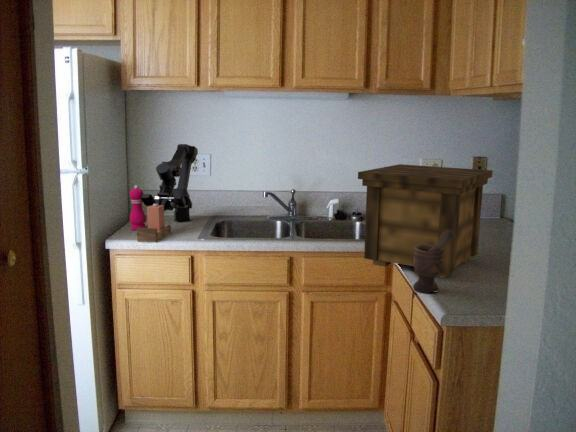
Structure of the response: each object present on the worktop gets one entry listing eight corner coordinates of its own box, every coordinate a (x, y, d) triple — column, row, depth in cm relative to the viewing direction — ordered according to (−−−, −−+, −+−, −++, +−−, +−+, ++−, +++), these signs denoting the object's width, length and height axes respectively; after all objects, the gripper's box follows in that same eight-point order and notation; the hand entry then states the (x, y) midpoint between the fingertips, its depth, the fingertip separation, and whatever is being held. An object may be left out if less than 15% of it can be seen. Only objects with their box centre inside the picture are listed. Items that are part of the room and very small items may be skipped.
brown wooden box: (153, 232, 229) (153, 219, 228) (171, 232, 228) (170, 220, 227) (137, 241, 213) (136, 228, 212) (156, 242, 212) (155, 229, 210)
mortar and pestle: (454, 290, 157) (459, 225, 153) (447, 298, 149) (452, 231, 146) (416, 283, 162) (420, 221, 159) (407, 291, 155) (411, 226, 151)
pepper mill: (136, 231, 230) (134, 186, 226) (126, 229, 235) (124, 185, 231) (149, 228, 236) (147, 185, 232) (139, 226, 240) (137, 183, 236)
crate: (454, 284, 162) (462, 180, 156) (354, 265, 182) (358, 172, 176) (485, 259, 190) (492, 170, 184) (395, 245, 210) (399, 164, 204)
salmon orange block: (153, 227, 225) (152, 202, 223) (164, 228, 225) (163, 203, 222) (148, 230, 219) (146, 205, 217) (159, 231, 219) (158, 205, 217)
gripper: (191, 198, 238) (184, 227, 230) (152, 197, 241) (144, 225, 232) (185, 183, 229) (177, 212, 220) (145, 182, 232) (136, 211, 223)
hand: (159, 216), depth 224 cm, fingers closed, pressing on salmon orange block
